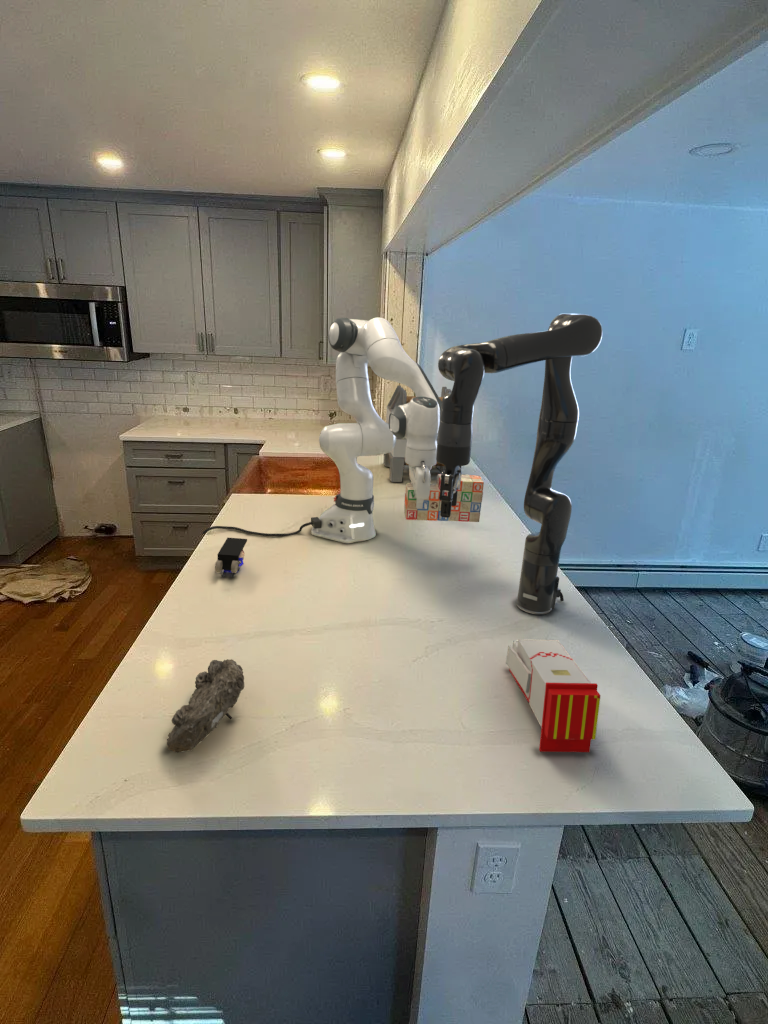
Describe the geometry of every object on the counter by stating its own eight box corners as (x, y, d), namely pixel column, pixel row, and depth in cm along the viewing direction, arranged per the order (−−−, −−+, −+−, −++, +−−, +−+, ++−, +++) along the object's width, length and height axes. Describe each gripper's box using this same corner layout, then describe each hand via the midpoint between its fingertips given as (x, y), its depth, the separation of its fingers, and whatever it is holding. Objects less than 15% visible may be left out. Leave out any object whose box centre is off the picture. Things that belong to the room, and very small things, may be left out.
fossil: (192, 660, 117) (244, 628, 112) (224, 691, 120) (276, 661, 115) (142, 746, 98) (202, 712, 93) (182, 779, 101) (242, 748, 96)
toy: (554, 622, 128) (610, 691, 98) (548, 677, 130) (601, 759, 101) (501, 621, 127) (541, 690, 98) (496, 676, 130) (534, 758, 101)
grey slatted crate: (382, 463, 289) (386, 382, 275) (445, 464, 293) (451, 384, 279) (390, 482, 257) (394, 392, 243) (460, 483, 261) (468, 394, 247)
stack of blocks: (405, 520, 161) (408, 479, 157) (403, 512, 167) (406, 472, 163) (479, 522, 163) (484, 481, 158) (475, 514, 169) (479, 474, 164)
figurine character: (238, 584, 162) (249, 557, 175) (236, 562, 158) (247, 536, 172) (215, 584, 161) (227, 556, 175) (212, 561, 158) (225, 535, 171)
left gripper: (437, 467, 149) (433, 516, 154) (427, 448, 168) (424, 492, 173) (413, 466, 148) (410, 516, 153) (406, 447, 167) (403, 491, 172)
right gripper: (466, 450, 118) (460, 523, 123) (475, 437, 130) (469, 503, 136) (431, 446, 119) (426, 518, 125) (443, 433, 132) (438, 499, 138)
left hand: (417, 503), depth 163 cm, fingers closed on stack of blocks, 6 cm apart
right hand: (448, 510), depth 130 cm, fingers open, 8 cm apart
